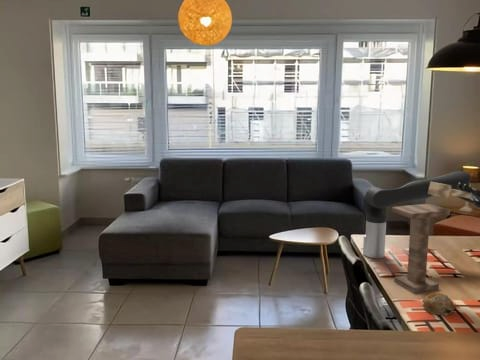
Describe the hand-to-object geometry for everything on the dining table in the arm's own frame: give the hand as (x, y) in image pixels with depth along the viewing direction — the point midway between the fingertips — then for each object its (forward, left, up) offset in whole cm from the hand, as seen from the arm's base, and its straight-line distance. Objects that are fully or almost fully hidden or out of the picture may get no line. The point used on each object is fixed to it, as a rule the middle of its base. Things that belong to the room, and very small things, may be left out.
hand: (461, 185), depth 191 cm
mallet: (-1, -2, -5) cm, 6 cm away
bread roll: (+5, -34, -40) cm, 53 cm away
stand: (-10, -17, -40) cm, 44 cm away
